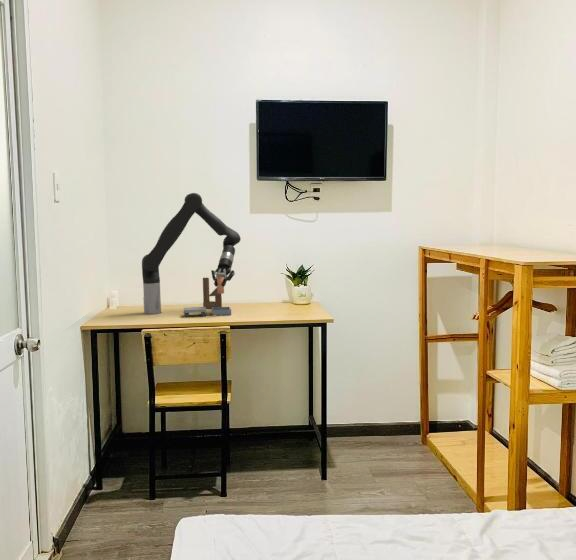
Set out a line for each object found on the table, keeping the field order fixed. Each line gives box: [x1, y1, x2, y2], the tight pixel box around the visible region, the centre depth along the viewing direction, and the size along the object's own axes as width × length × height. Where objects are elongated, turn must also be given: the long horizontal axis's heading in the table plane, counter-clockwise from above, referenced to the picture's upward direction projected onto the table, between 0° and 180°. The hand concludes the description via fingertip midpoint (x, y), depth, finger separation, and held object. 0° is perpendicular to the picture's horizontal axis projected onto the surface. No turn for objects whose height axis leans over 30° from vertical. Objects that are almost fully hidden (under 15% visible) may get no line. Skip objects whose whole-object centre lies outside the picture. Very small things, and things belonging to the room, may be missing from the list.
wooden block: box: [202, 277, 223, 309], centre depth 346 cm, size 4×11×18 cm, turn 101°
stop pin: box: [215, 272, 225, 295], centre depth 324 cm, size 5×5×11 cm
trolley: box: [183, 306, 207, 318], centre depth 322 cm, size 12×8×4 cm, turn 100°
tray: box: [211, 306, 232, 316], centre depth 326 cm, size 10×10×3 cm
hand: (219, 285), depth 322 cm, fingers closed on stop pin, 3 cm apart
